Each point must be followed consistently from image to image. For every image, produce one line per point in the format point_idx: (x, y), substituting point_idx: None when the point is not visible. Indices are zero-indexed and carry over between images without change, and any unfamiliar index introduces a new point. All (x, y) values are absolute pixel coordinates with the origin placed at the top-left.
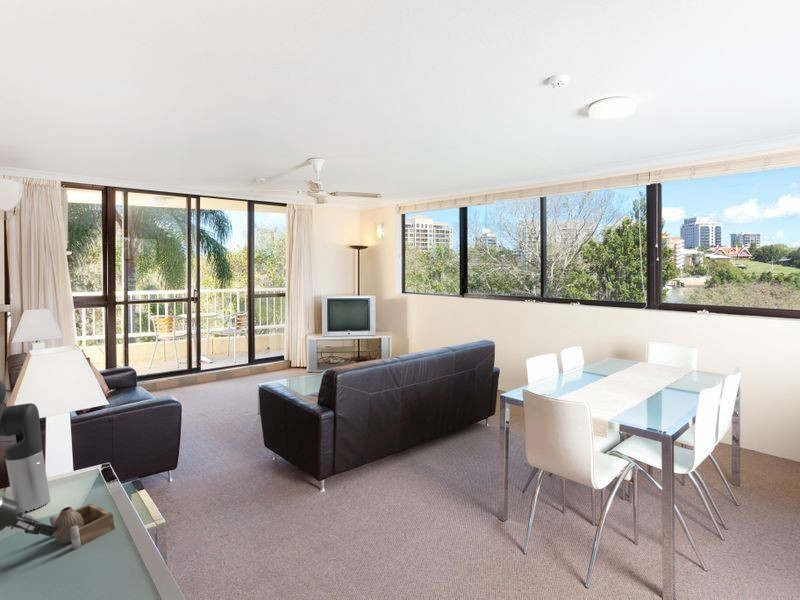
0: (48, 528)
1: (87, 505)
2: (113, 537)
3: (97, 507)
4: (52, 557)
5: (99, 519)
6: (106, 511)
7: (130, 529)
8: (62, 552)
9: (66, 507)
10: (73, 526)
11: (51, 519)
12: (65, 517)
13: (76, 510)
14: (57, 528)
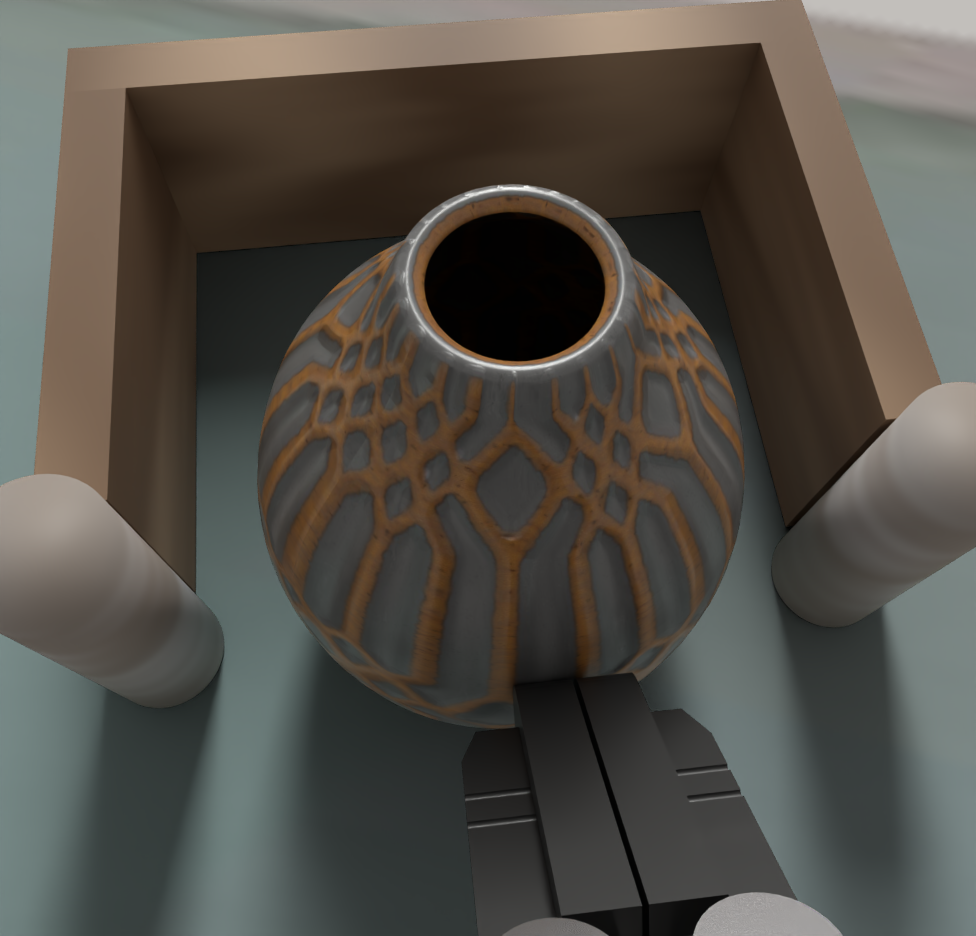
0: (758, 827)
1: (95, 93)
2: (946, 244)
3: (352, 39)
4: (841, 893)
5: (827, 140)
6: (632, 17)
7: (908, 94)
8: (807, 748)
9: (424, 247)
10: (901, 438)
11: (71, 618)
12: (670, 421)
13: (89, 234)
14: (630, 651)
